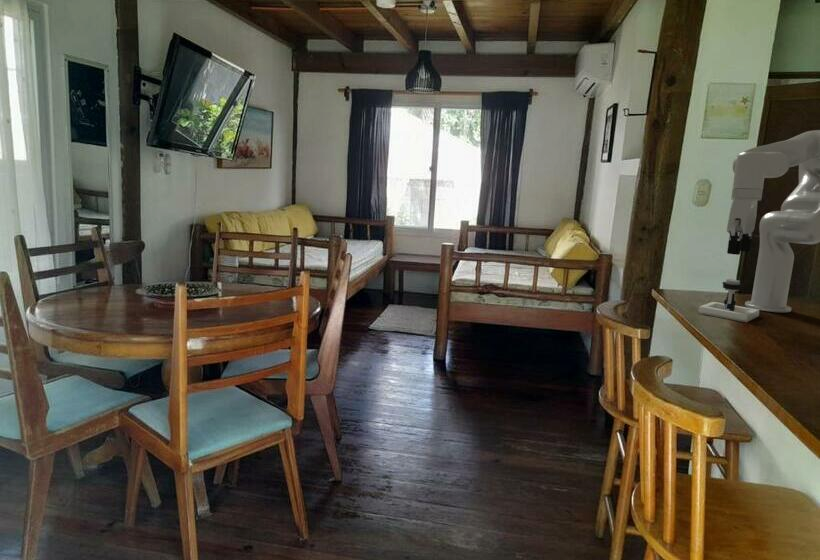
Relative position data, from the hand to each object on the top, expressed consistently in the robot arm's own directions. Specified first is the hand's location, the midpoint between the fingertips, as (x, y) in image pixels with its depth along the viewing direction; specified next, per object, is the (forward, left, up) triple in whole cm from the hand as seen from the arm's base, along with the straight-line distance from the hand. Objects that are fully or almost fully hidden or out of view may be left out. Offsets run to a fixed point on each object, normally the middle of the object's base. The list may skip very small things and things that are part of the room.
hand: (738, 252), depth 158 cm
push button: (+1, 0, -19) cm, 19 cm away
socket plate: (+1, 0, -19) cm, 19 cm away
